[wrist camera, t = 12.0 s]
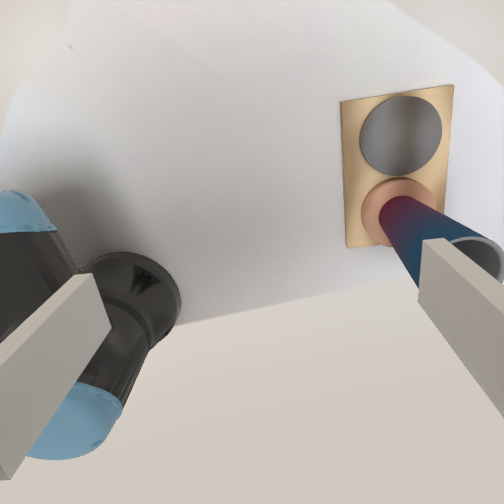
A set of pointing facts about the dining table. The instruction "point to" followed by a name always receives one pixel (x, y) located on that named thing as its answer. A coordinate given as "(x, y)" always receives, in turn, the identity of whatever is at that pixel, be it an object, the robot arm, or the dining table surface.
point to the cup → (434, 236)
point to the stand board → (371, 177)
